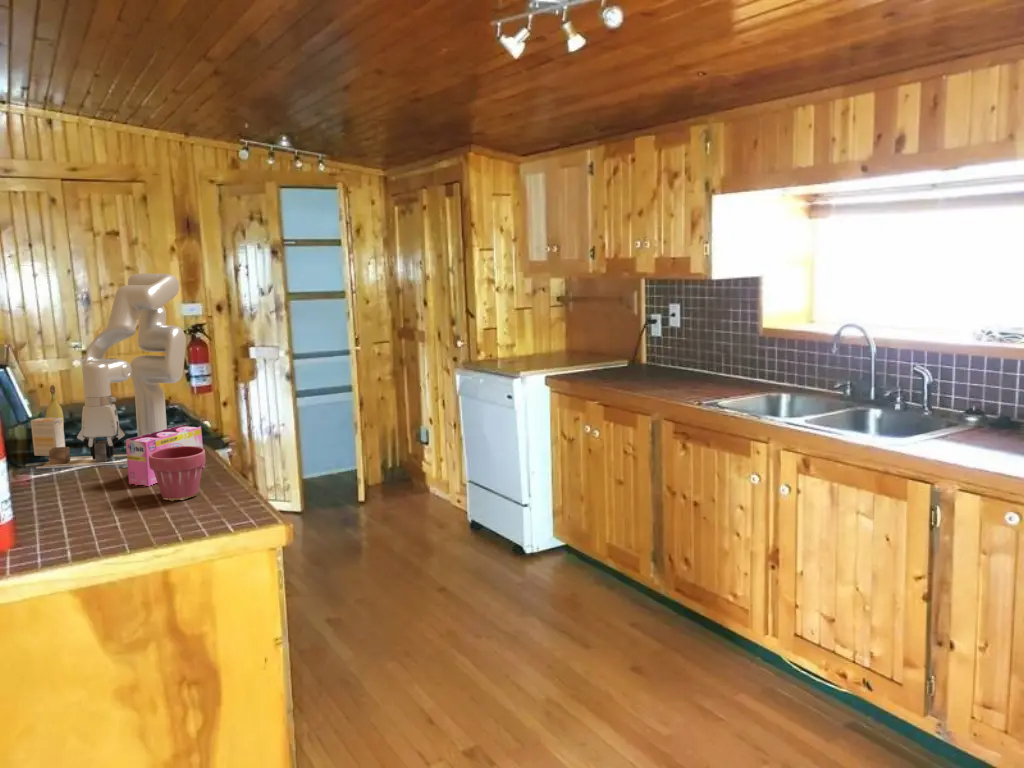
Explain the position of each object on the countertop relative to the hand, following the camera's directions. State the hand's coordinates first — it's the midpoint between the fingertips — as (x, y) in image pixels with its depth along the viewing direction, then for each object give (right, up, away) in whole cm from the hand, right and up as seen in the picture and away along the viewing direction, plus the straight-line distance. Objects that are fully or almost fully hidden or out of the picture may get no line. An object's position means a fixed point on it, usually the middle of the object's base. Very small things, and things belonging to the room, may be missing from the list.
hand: (102, 457), depth 253 cm
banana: (-31, +2, +26) cm, 40 cm away
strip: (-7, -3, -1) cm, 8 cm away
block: (-12, -1, -3) cm, 13 cm away
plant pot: (+39, -8, -34) cm, 52 cm away
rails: (-2, -2, 0) cm, 3 cm away
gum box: (+27, -5, -13) cm, 30 cm away
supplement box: (-22, -1, +9) cm, 24 cm away
